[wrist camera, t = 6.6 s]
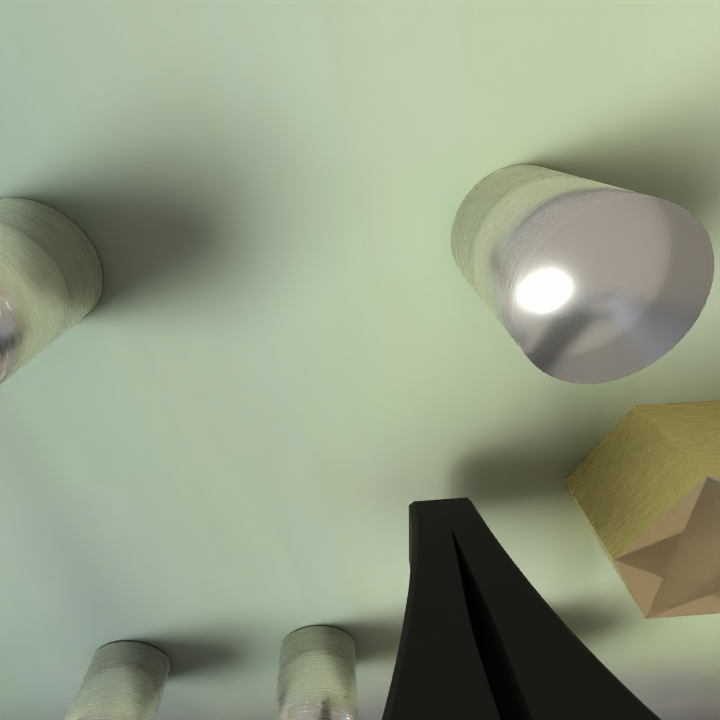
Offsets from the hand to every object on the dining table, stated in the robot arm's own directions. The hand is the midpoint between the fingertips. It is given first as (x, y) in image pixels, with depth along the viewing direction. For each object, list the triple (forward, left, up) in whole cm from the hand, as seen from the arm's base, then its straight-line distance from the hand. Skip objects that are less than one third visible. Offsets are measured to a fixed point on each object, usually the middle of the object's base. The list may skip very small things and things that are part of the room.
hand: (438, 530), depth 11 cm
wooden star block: (-6, 0, -1) cm, 6 cm away
